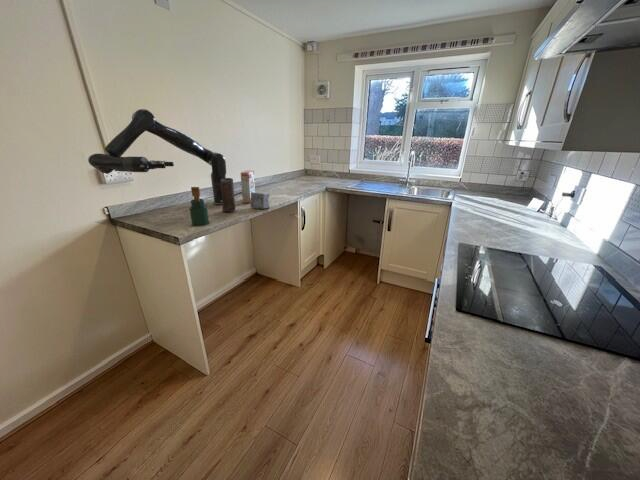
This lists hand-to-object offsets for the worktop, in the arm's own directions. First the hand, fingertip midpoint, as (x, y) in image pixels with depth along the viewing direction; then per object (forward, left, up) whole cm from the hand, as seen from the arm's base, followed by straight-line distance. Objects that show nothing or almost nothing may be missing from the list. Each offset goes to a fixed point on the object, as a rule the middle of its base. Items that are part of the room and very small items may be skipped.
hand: (169, 165), depth 130 cm
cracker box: (-55, +3, -30) cm, 63 cm away
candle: (-27, +10, -30) cm, 41 cm away
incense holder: (-43, +22, -30) cm, 57 cm away
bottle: (-2, +13, -29) cm, 32 cm away
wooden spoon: (-2, +13, -29) cm, 32 cm away
